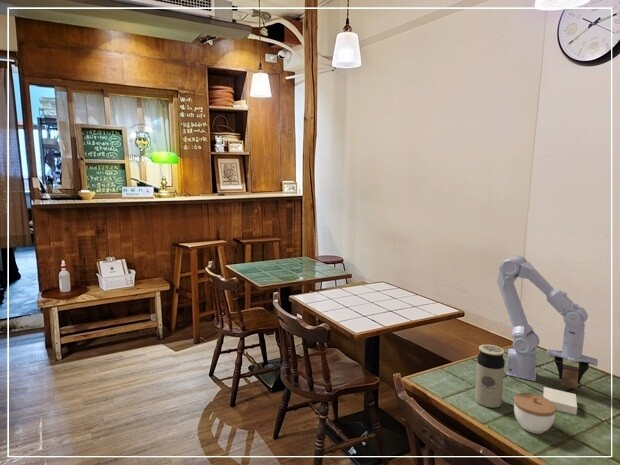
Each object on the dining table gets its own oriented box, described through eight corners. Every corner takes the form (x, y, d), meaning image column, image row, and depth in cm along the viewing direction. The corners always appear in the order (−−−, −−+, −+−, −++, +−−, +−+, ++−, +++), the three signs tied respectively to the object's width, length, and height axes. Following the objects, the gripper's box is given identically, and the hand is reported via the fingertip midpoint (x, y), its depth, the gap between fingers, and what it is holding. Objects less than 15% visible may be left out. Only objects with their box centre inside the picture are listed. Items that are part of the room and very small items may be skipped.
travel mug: (480, 392, 137) (484, 342, 135) (505, 401, 132) (509, 349, 129) (470, 401, 132) (474, 348, 129) (495, 411, 126) (499, 356, 124)
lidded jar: (553, 443, 111) (556, 411, 110) (510, 430, 117) (512, 400, 115) (554, 423, 120) (556, 394, 119) (513, 412, 126) (516, 384, 124)
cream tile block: (542, 407, 129) (543, 399, 129) (543, 395, 137) (543, 386, 136) (576, 416, 125) (577, 407, 124) (574, 402, 132) (575, 394, 132)
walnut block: (561, 385, 139) (562, 369, 138) (560, 380, 143) (562, 363, 142) (576, 389, 137) (578, 372, 136) (576, 383, 140) (577, 367, 140)
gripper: (548, 342, 138) (544, 379, 140) (600, 351, 130) (595, 391, 132) (548, 335, 144) (544, 371, 146) (598, 344, 137) (593, 382, 138)
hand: (569, 380), depth 139 cm, fingers closed on walnut block, 4 cm apart
